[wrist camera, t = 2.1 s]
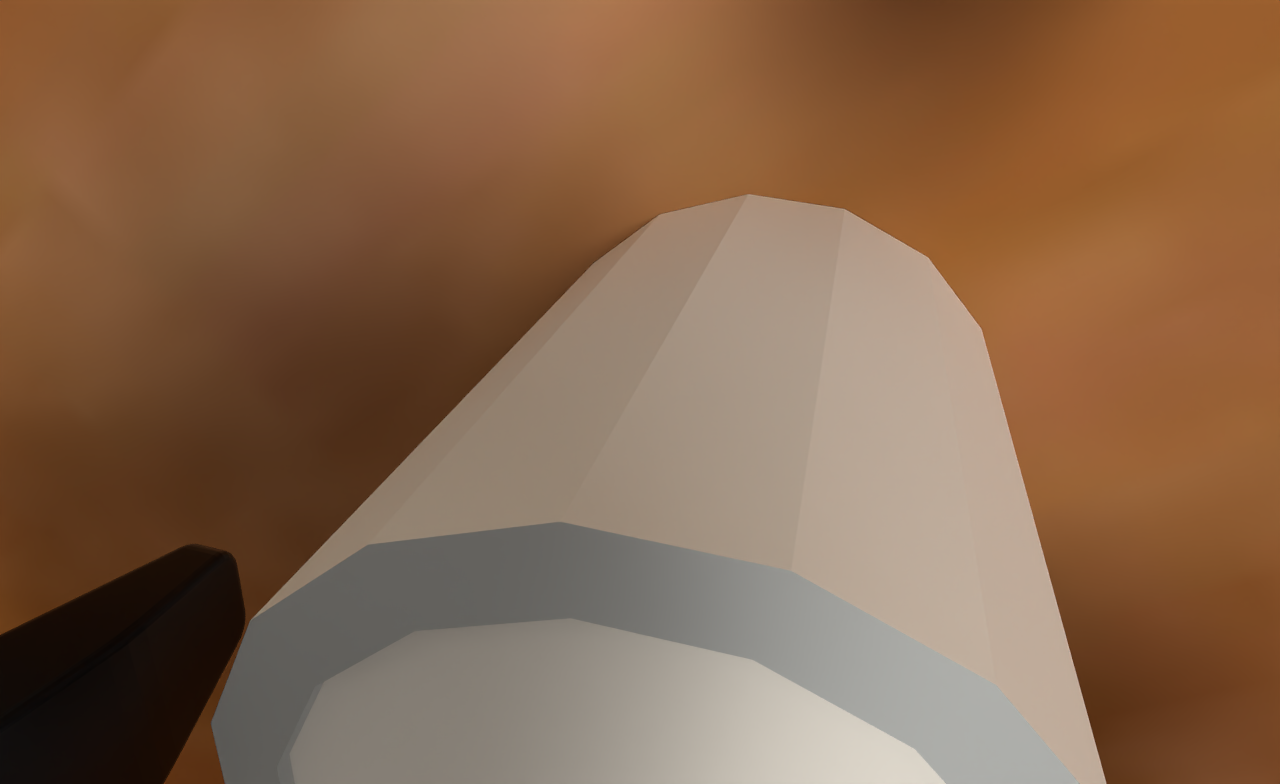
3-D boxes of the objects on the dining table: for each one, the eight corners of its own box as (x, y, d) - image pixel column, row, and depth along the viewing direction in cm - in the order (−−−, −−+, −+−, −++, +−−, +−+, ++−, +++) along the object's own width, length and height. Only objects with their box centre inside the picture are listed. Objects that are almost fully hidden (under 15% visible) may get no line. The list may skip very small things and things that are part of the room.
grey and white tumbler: (663, 649, 16) (508, 1155, 10) (413, 275, 14) (28, 668, 8) (1130, 536, 13) (1276, 1160, 7) (918, 31, 11) (889, 379, 5)
